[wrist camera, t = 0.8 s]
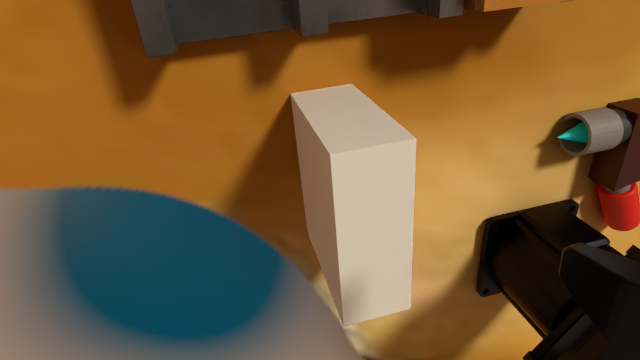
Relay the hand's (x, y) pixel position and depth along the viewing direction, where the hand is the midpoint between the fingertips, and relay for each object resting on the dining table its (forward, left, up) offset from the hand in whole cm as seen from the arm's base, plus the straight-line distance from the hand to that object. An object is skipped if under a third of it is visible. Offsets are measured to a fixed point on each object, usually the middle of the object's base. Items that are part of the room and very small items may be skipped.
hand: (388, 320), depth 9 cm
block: (-2, -2, -13) cm, 13 cm away
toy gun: (-6, -21, -13) cm, 25 cm away
